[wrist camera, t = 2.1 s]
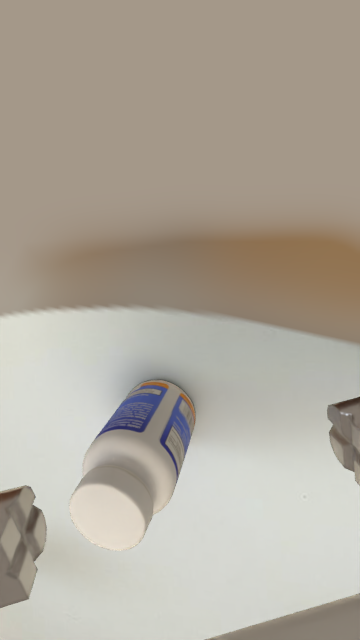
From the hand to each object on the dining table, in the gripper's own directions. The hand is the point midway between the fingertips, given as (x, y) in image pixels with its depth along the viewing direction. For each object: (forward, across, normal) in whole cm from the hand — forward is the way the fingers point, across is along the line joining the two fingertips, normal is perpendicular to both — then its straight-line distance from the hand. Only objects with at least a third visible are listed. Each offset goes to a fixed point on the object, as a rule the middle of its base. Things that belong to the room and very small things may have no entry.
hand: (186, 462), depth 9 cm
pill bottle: (+15, +1, +7) cm, 16 cm away
